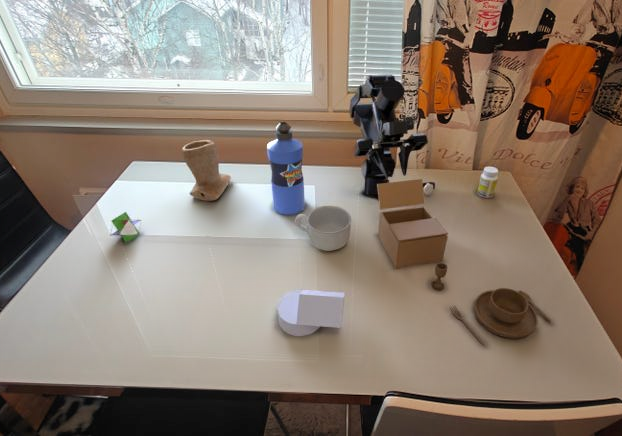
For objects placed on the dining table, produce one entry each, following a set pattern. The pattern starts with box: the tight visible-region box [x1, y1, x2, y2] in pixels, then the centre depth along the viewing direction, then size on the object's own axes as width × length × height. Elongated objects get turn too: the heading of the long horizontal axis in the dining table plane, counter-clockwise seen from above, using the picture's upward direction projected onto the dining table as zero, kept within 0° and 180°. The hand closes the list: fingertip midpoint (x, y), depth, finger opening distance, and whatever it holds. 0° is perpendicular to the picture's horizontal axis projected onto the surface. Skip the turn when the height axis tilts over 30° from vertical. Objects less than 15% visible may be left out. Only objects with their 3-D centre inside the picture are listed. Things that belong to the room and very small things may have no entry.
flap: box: [377, 178, 426, 210], centre depth 97 cm, size 6×12×1 cm
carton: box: [377, 205, 449, 269], centre depth 94 cm, size 13×12×8 cm
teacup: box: [294, 205, 352, 252], centre depth 96 cm, size 14×11×8 cm
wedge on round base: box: [276, 289, 346, 337], centre depth 76 cm, size 9×7×13 cm
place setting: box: [430, 261, 552, 346], centre depth 80 cm, size 18×20×6 cm
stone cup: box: [181, 139, 232, 202], centre depth 115 cm, size 15×12×15 cm
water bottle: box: [266, 121, 306, 216], centre depth 105 cm, size 9×9×25 cm
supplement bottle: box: [476, 166, 499, 199], centre depth 116 cm, size 5×5×8 cm
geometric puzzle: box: [109, 211, 142, 244], centre depth 98 cm, size 7×7×8 cm
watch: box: [422, 181, 436, 195], centre depth 118 cm, size 8×5×4 cm, turn 122°
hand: (396, 176), depth 99 cm, fingers open, 4 cm apart
